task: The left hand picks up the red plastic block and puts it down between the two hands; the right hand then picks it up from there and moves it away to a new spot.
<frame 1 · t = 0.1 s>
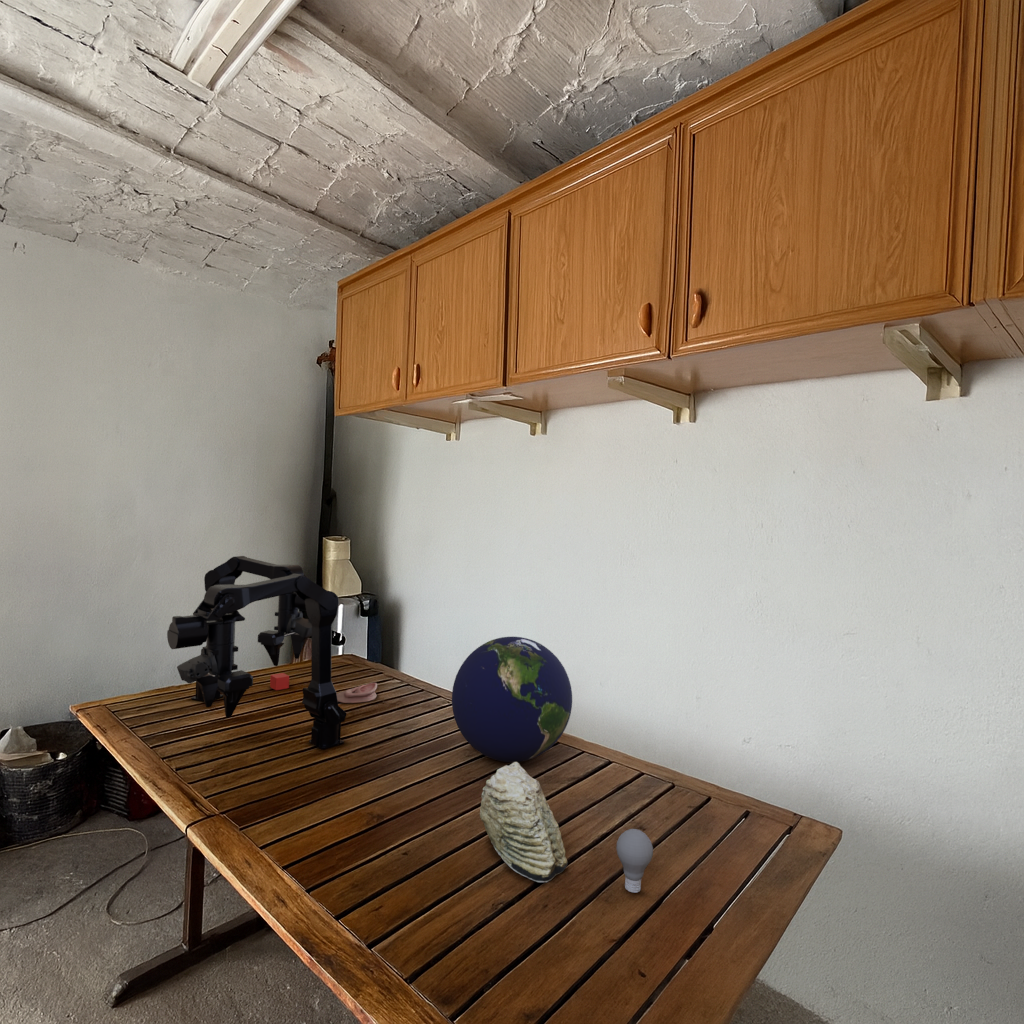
left hand: (286, 662, 184), 15 cm above the table, tool pointing down, fingers open, 9 cm apart
right hand: (218, 711, 141), 14 cm above the table, tool pointing down, fingers open, 9 cm apart
anatomical model: (354, 698, 199), on the table
globe: (509, 758, 158), on the table
fossil: (519, 856, 115), on the table
block: (279, 687, 206), on the table
light bulb: (632, 891, 106), on the table
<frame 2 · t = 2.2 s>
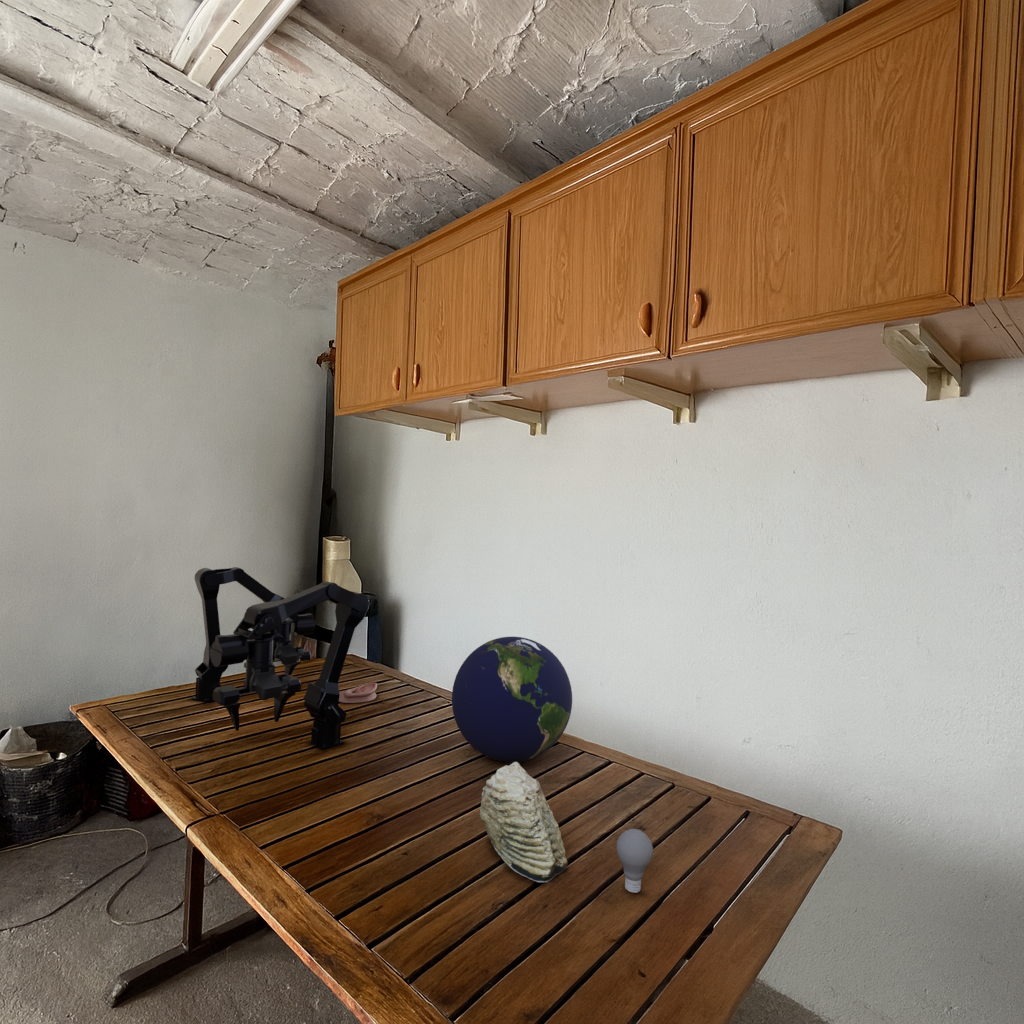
left hand: (279, 684, 206), 1 cm above the table, tool pointing down, fingers closed on block, 4 cm apart
right hand: (257, 725, 148), 9 cm above the table, tool pointing down, fingers open, 9 cm apart
block: (279, 687, 206), on the table, touching left hand
everything else where it was.
when the left hand's fingers open (2 cm above the table, at t = 6.7 s): block stays where it is, on the table.
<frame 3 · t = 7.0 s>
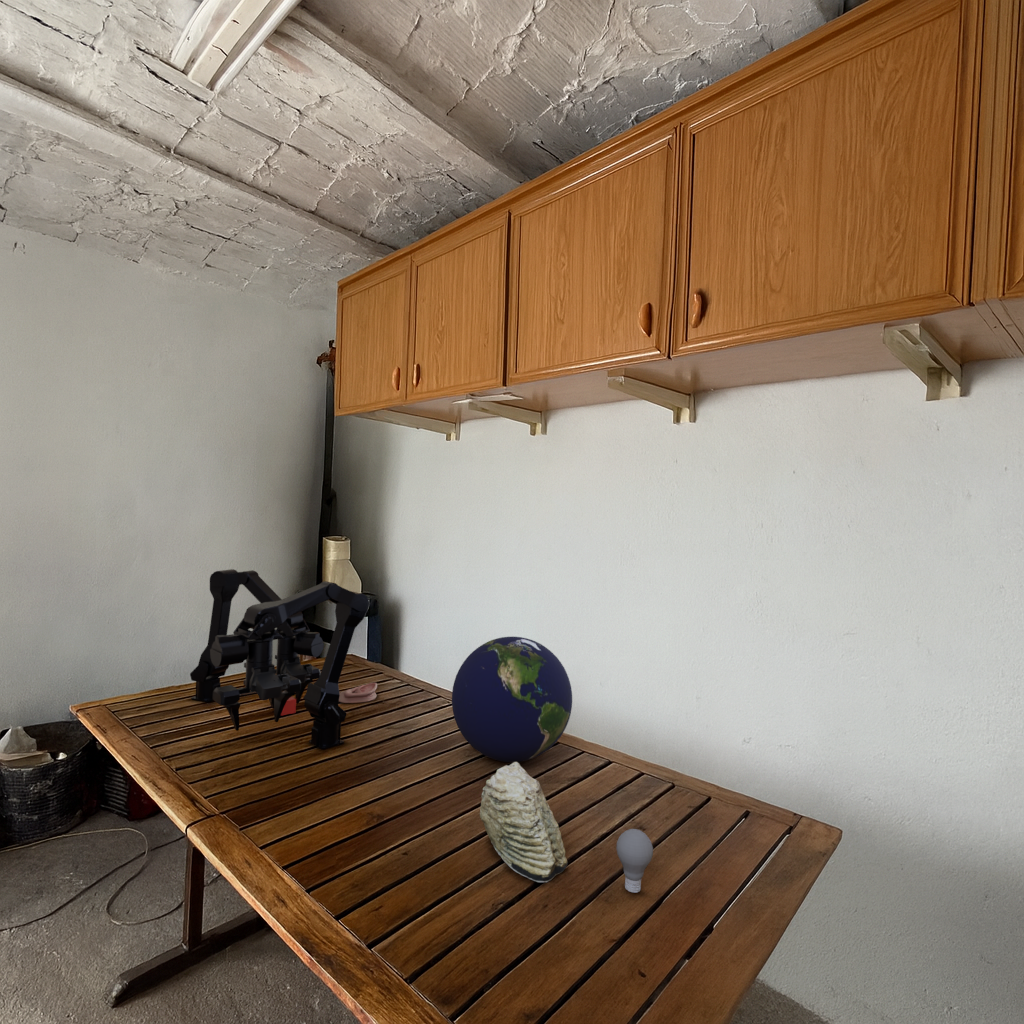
left hand: (285, 706, 184), 2 cm above the table, tool pointing down, fingers open, 7 cm apart
right hand: (257, 725, 148), 9 cm above the table, tool pointing down, fingers open, 9 cm apart
block: (285, 712, 184), on the table
everything else where it was.
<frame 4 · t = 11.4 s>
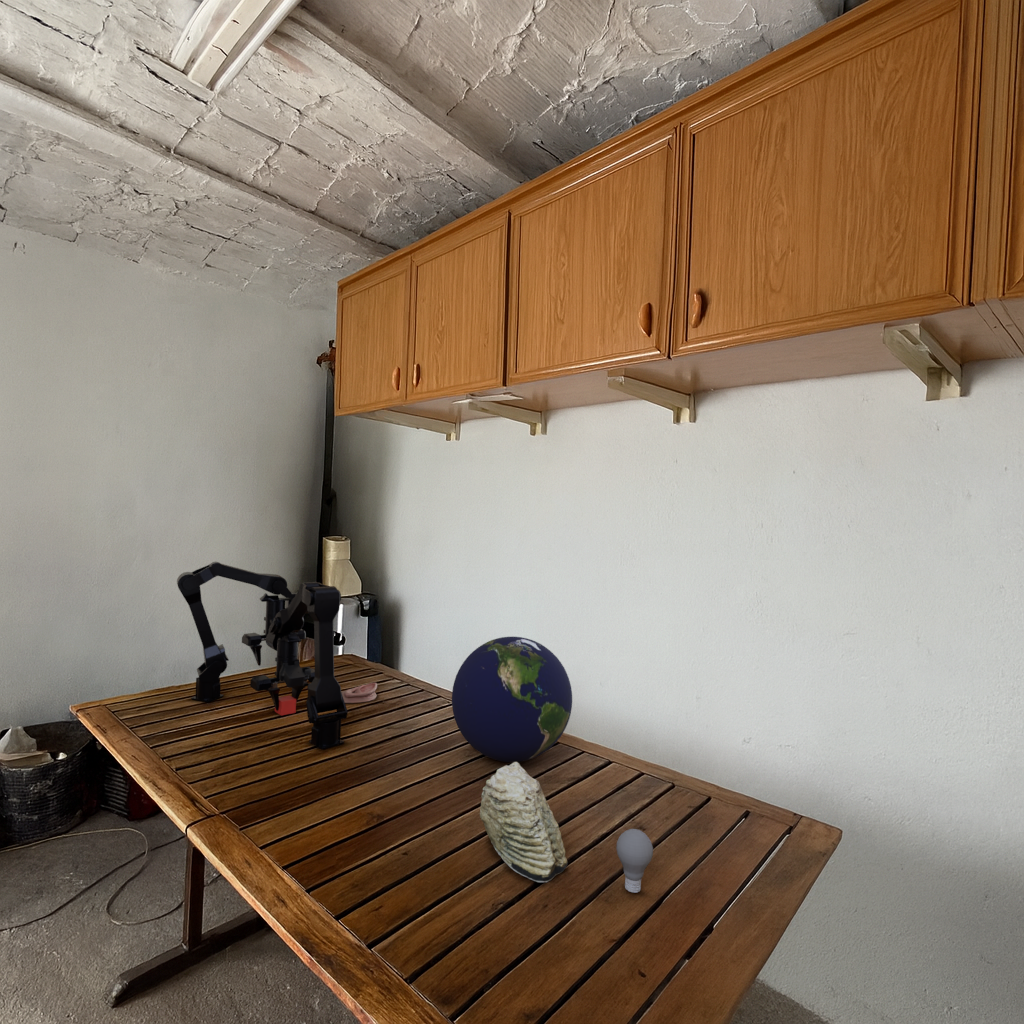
left hand: (273, 663, 202), 9 cm above the table, tool pointing down, fingers open, 9 cm apart
right hand: (285, 708, 184), 1 cm above the table, tool pointing down, fingers closed on block, 4 cm apart
block: (285, 712, 184), on the table, touching right hand
everything else where it was.
when the right hand's fingers open (2 cm above the table, at t = 17.9 s): block stays where it is, on the table.
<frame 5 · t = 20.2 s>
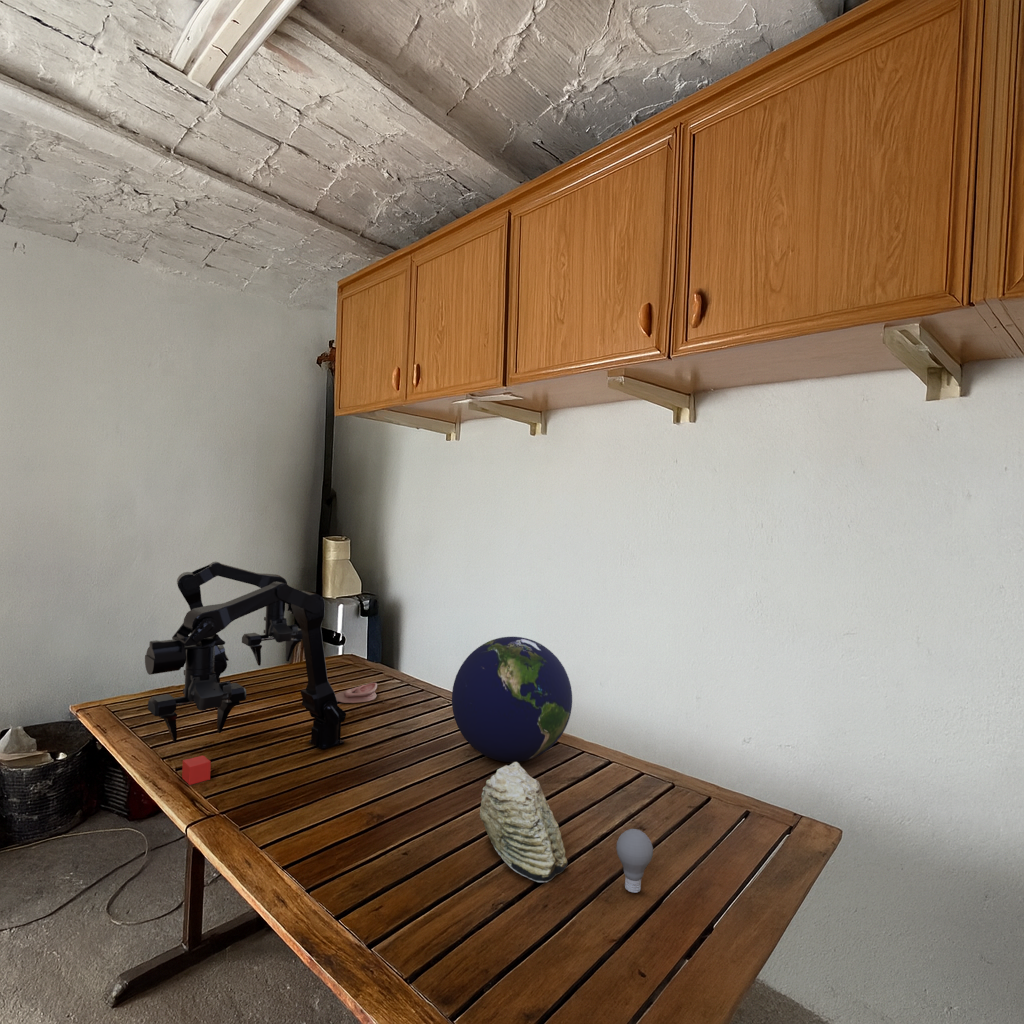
left hand: (273, 663, 202), 9 cm above the table, tool pointing down, fingers open, 9 cm apart
right hand: (197, 737, 139), 9 cm above the table, tool pointing down, fingers open, 9 cm apart
block: (196, 778, 139), on the table
everything else where it was.
at the end: block inside the target area (0.2 cm from its centre), on the table; block tilted 0°; the two hands never held the block at the same time; the left hand is holding nothing; the right hand is holding nothing; block at rest at the end (0.0 cm/s) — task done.
